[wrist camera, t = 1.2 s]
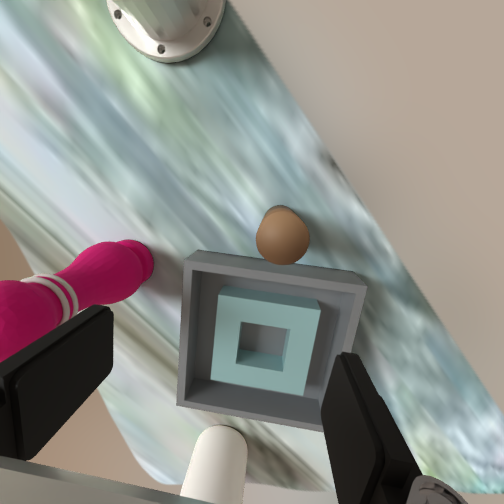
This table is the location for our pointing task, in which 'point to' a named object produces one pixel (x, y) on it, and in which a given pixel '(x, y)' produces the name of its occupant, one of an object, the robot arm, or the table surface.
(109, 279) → the pepper mill
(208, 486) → the mug
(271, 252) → the peg
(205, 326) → the tray
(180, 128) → the table surface
